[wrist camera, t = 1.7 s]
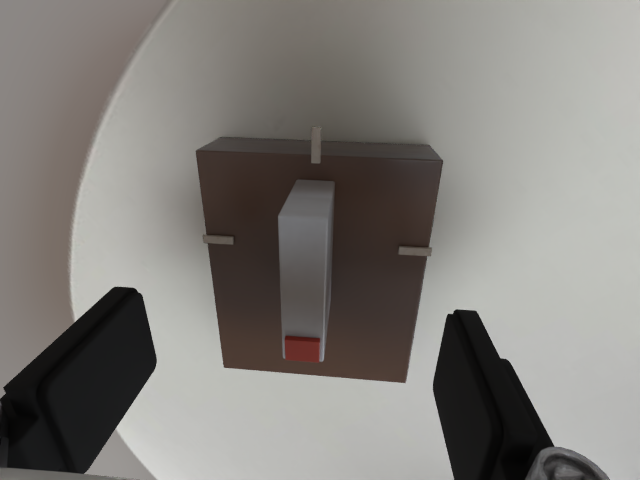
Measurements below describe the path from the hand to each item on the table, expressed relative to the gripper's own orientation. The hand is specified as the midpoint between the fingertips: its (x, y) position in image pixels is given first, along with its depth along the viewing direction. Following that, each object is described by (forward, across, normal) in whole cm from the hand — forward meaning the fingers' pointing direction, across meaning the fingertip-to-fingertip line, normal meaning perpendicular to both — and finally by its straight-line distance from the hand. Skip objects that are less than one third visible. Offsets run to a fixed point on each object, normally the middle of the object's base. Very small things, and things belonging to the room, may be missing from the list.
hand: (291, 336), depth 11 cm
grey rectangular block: (+6, 0, 0) cm, 6 cm away
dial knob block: (+9, 0, +2) cm, 9 cm away
